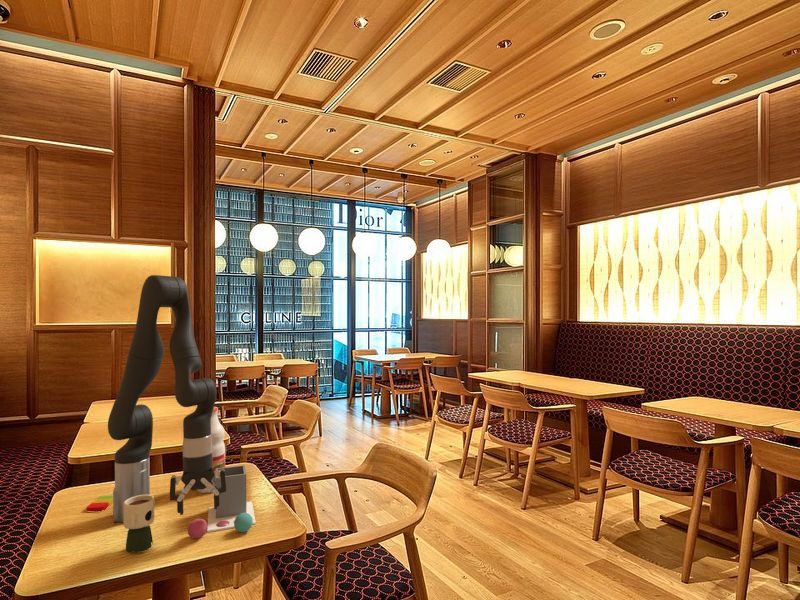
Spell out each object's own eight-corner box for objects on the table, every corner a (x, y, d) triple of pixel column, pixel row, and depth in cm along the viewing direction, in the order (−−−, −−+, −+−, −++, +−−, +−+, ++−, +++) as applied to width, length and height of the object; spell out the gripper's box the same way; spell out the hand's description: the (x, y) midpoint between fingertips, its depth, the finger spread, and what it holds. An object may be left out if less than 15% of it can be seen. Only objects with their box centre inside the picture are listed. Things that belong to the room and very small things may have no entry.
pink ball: (187, 543, 126) (186, 524, 126) (188, 535, 131) (188, 517, 131) (207, 540, 128) (206, 521, 128) (207, 531, 133) (207, 514, 133)
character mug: (147, 558, 119) (147, 507, 119) (116, 562, 117) (116, 510, 117) (160, 537, 129) (159, 490, 130) (131, 540, 128) (131, 492, 128)
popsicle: (84, 514, 146) (84, 508, 146) (107, 494, 160) (107, 489, 160) (103, 512, 146) (103, 506, 146) (124, 493, 161) (124, 488, 161)
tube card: (207, 532, 132) (207, 488, 132) (208, 509, 147) (208, 469, 147) (255, 524, 137) (255, 481, 137) (251, 502, 152) (251, 463, 152)
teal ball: (234, 536, 130) (234, 518, 130) (233, 528, 134) (233, 511, 134) (253, 533, 131) (253, 515, 131) (252, 525, 136) (252, 508, 136)
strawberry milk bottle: (201, 483, 168) (200, 405, 168) (228, 482, 169) (228, 404, 169) (192, 494, 159) (192, 411, 159) (221, 492, 160) (220, 410, 160)
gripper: (167, 459, 123) (169, 521, 123) (225, 452, 129) (226, 511, 128) (170, 451, 130) (171, 510, 130) (224, 444, 136) (226, 501, 135)
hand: (198, 510), depth 129 cm, fingers open, 8 cm apart
